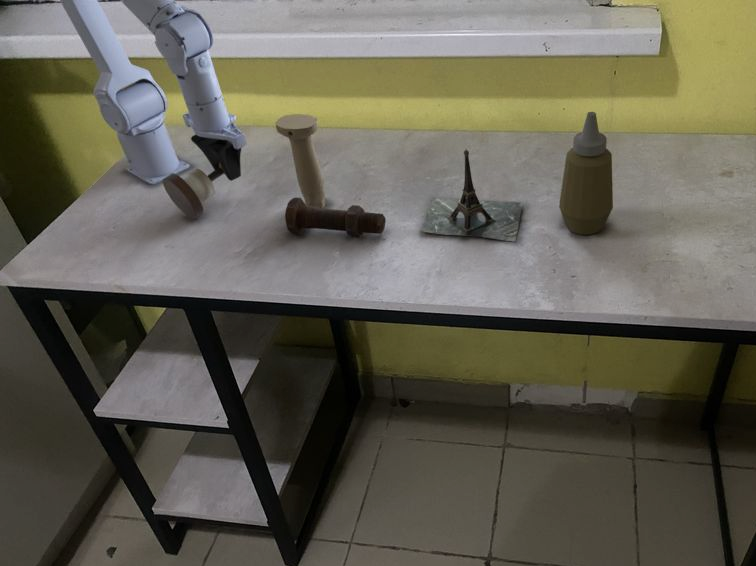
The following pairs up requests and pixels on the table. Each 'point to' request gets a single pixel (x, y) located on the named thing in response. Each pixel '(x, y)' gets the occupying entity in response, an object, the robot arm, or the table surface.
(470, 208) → the eiffel tower figurine
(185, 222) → the table surface
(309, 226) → the bolt
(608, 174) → the squeeze bottle
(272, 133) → the table surface
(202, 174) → the joystick
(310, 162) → the handle
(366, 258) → the table surface
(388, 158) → the table surface
